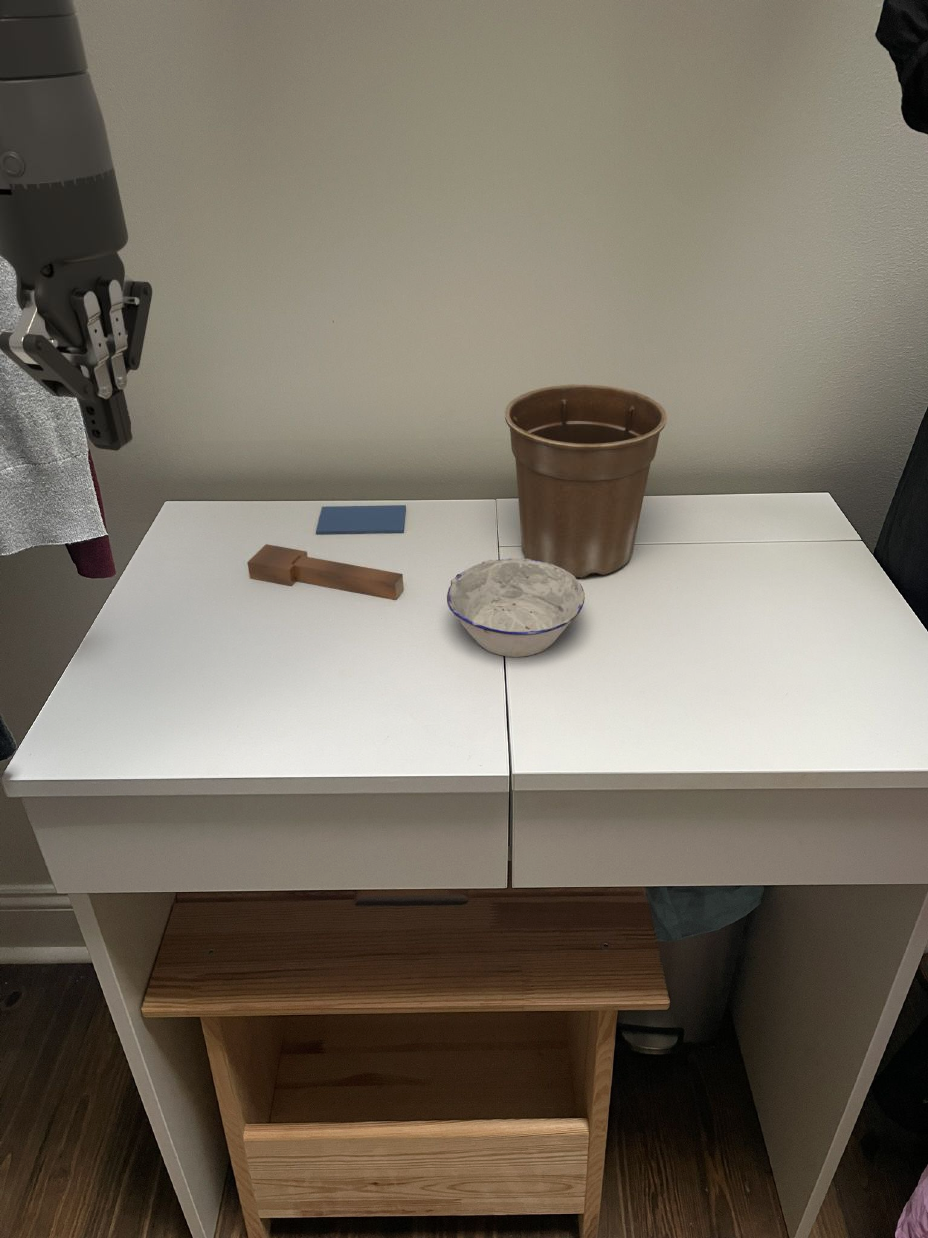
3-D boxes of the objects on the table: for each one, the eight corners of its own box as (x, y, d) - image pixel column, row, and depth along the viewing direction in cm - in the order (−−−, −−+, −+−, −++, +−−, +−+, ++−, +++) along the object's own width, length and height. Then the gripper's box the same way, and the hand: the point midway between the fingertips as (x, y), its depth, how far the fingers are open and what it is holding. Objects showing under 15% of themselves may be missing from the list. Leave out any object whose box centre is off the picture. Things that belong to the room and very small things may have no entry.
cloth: (405, 507, 113) (405, 504, 113) (403, 532, 108) (403, 529, 108) (322, 509, 113) (321, 506, 113) (316, 534, 108) (315, 531, 108)
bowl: (444, 672, 87) (442, 629, 84) (452, 595, 97) (450, 555, 94) (586, 675, 86) (589, 631, 83) (578, 597, 96) (581, 556, 94)
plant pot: (533, 504, 113) (537, 373, 104) (667, 529, 107) (683, 393, 98) (480, 571, 101) (479, 429, 92) (628, 603, 95) (642, 456, 86)
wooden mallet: (407, 585, 99) (406, 568, 98) (392, 605, 96) (391, 588, 95) (268, 559, 104) (265, 543, 102) (249, 578, 100) (246, 562, 99)
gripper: (60, 144, 60) (121, 403, 70) (-96, 184, 50) (1, 481, 60) (163, 148, 58) (211, 413, 68) (24, 190, 48) (104, 496, 58)
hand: (113, 445), depth 64 cm, fingers closed
